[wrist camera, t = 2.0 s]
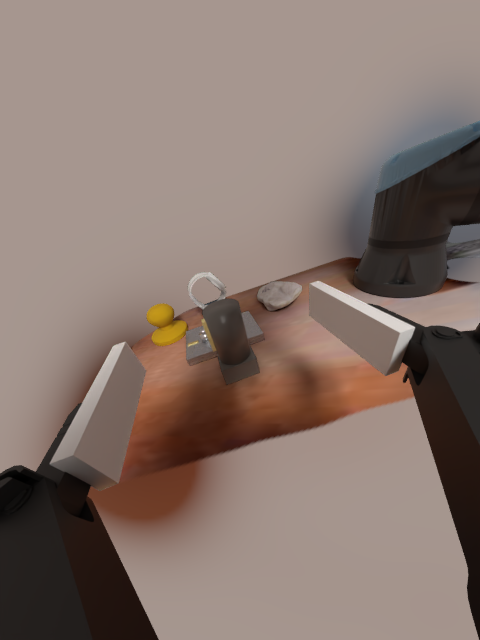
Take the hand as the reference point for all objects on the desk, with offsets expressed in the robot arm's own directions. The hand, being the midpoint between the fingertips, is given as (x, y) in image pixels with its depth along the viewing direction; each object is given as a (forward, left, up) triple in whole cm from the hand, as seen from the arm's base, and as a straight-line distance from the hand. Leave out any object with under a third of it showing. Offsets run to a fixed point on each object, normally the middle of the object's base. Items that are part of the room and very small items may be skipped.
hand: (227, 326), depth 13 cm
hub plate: (+1, -18, -15) cm, 23 cm away
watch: (+1, -27, -15) cm, 31 cm away
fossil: (-14, -24, -15) cm, 32 cm away
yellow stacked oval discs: (+12, -26, -15) cm, 32 cm away
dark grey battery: (0, -10, -15) cm, 18 cm away
